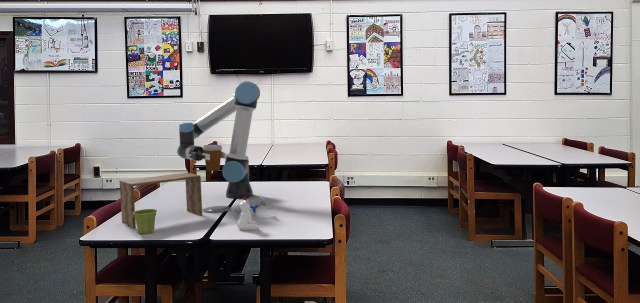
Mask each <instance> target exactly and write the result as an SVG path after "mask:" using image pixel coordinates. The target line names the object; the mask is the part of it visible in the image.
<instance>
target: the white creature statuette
mask: <svg viewBox="0 0 640 303" xmlns="http://www.w3.org/2000/svg"><path fill="white" fill-rule="evenodd" d="M249 205H251V204H250V203H248V200H247V201H245V200H244V199H243V201H241V202H240V203H239V209H241V212H240V215H241V216H240V219H239V218H238V221H237V223H236V226H237V228H238V230H240V231H260V226H259V225H258V224H257V222H256V221H255V220H254V219H252V214H251V210H252V209H251V208H250V206H249Z"/></svg>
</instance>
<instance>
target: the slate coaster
mask: <svg viewBox="0 0 640 303" xmlns="http://www.w3.org/2000/svg"><path fill="white" fill-rule="evenodd" d="M231 208H232V206H227V205H216V206H215V205H213V206H208V207H205V208H202V213H203V212H204V213H209V214H210V213H211V214H214V213H215V214H217V213H224V212H229V211H232V210H231Z"/></svg>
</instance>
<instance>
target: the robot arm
mask: <svg viewBox="0 0 640 303" xmlns="http://www.w3.org/2000/svg"><path fill="white" fill-rule="evenodd" d="M260 96H261V89H260V88H259V86H258V85H257V84H256V83H255V82H252V81H250V80H249V81H247V80H245V81H241V82H240V83H239V84H237V86H236V88H235V90H234V93H233V96H231V98H229V99H228V100H226V101H224V102H223V103H221V104H220V105H218V106H216V107H215V108H214V109H213V110H211V111H210V112H208V113H206V114H205V115H203V116H202V117H200V118H199V119H198V120H196V121H194V122H180V123H179V127H178V134H179V146H177V149H176V153H177V155H178V157H179V158H182V159H184V160H192V162H194V161H195V162H199V161H203V160H204V161H205V160H210V154H204V150H203V146H200V145H199V146H198V145H195V139H197V138H199V137H200V136H201V135H202V134H204V133H205V132H207V131H208V130H210V129H211V128H213V127H215V125H218V124H219V123H221V122H222V121H223V120H226V118H228V117H230V116H231V115H232V114H234V113H235V116H234V123H233V129H232V135H231V140H230V147H229V152H228V153H227V152H224V151H221V159H225V161H224V164H223V167H222V170H221V172H222V176H223V178H224V179H225V180H226V181H227V182H228V184H227V188H226V191H225V197H226V198H229V199H244V198H243V197H244V196H246V198H251V197H253V195H254V193H253V192H254V190H253V188H252V185H251V183H250V166H249V165H250V164H249V163H250V160H249V157H248V155H246V153H247V149H248V142H249V135H250V129H251V123H252V117H253V112H254V111H255V110H256V109H257V107H258V106H257V105H258V100H259V99H260Z"/></svg>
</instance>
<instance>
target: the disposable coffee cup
mask: <svg viewBox="0 0 640 303" xmlns="http://www.w3.org/2000/svg"><path fill="white" fill-rule="evenodd" d="M202 148H203V150H204V154H210V160H205V159H204V161H205V167H206V168H205V169H206V171H208V172H209V171H210V172H211V171H219V170H220V168H221V160H222V158H221V152H222V150H223V147H222V145H221V144H205V145H203V146H202Z"/></svg>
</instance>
